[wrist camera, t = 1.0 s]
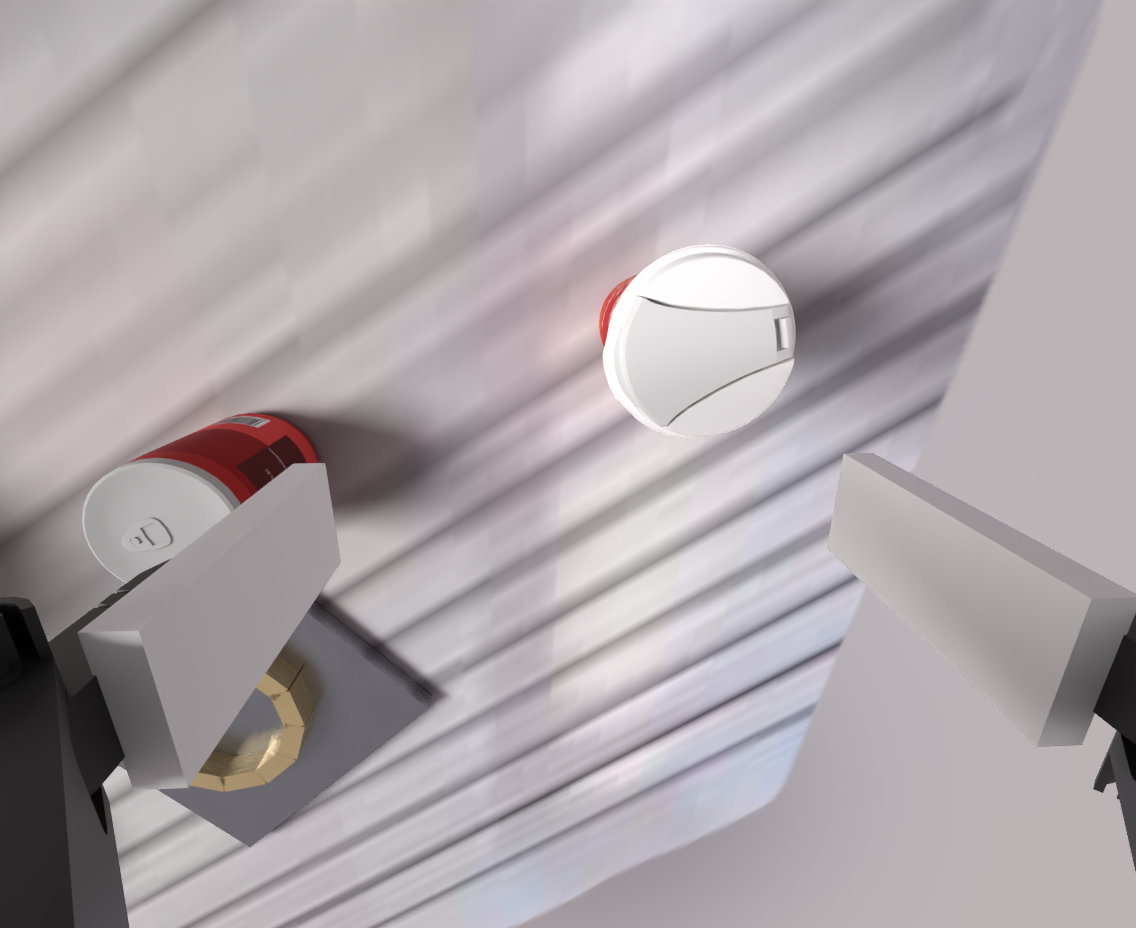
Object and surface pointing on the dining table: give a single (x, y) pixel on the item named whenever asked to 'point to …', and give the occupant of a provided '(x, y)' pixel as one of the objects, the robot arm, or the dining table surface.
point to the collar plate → (334, 734)
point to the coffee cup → (698, 341)
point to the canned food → (186, 489)
